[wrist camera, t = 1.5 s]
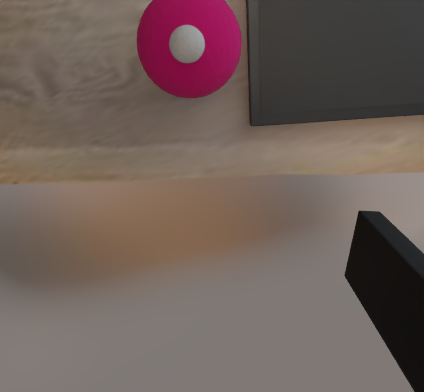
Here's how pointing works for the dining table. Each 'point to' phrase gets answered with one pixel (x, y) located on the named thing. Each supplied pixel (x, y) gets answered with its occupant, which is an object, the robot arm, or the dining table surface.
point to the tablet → (334, 60)
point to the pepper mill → (189, 45)
